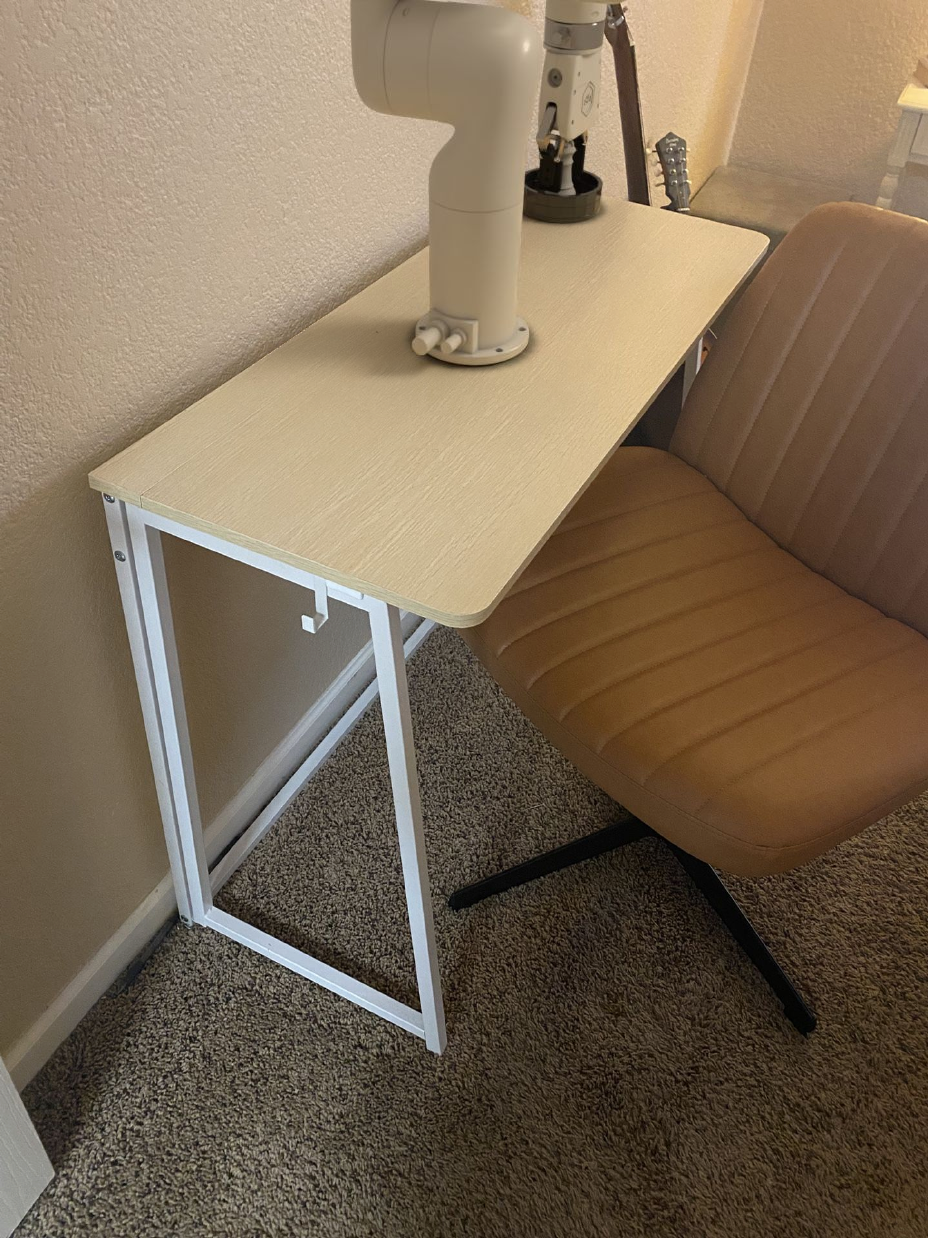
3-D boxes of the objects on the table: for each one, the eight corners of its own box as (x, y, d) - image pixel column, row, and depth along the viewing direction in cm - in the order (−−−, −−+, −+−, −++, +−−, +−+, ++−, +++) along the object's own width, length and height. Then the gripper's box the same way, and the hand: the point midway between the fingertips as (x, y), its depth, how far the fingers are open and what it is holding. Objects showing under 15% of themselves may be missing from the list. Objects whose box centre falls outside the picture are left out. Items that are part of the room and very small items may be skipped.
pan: (579, 229, 127) (582, 202, 124) (503, 211, 131) (504, 185, 128) (612, 201, 134) (615, 175, 132) (539, 185, 138) (541, 160, 136)
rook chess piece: (549, 209, 130) (554, 148, 124) (539, 197, 133) (543, 137, 127) (579, 207, 131) (586, 145, 125) (568, 195, 134) (574, 134, 128)
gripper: (572, 53, 111) (558, 208, 123) (627, 23, 122) (609, 168, 134) (515, 44, 113) (508, 196, 126) (574, 16, 124) (562, 158, 137)
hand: (560, 180), depth 130 cm, fingers open, 6 cm apart
